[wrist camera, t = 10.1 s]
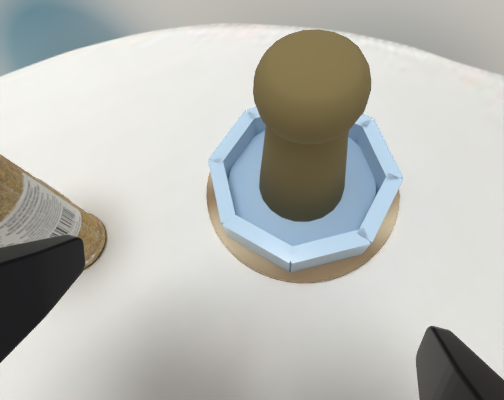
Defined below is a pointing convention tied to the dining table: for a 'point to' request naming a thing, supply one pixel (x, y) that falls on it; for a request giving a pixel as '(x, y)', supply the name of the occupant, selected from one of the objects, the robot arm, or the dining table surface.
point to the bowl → (303, 233)
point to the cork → (308, 120)
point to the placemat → (308, 274)
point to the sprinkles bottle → (42, 213)
